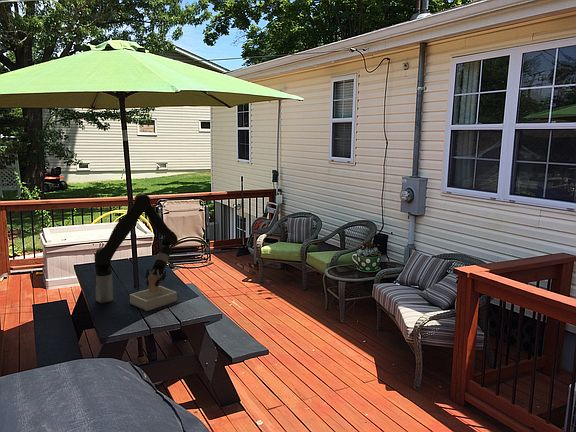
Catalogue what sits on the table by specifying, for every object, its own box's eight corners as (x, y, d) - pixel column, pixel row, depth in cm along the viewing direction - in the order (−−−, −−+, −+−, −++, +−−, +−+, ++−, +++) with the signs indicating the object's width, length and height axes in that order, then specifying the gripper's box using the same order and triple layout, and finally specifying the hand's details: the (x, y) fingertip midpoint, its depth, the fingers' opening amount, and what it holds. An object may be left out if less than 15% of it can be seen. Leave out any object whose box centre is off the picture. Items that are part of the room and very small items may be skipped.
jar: (152, 293, 282) (151, 277, 280) (147, 291, 285) (146, 275, 284) (160, 290, 286) (159, 275, 284) (154, 288, 290) (154, 273, 288)
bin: (146, 311, 273) (146, 301, 272) (130, 303, 284) (129, 294, 283) (177, 301, 290) (176, 292, 288) (160, 294, 301) (160, 285, 300)
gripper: (148, 257, 291) (138, 281, 282) (168, 259, 287) (159, 284, 278) (153, 263, 297) (144, 287, 288) (173, 265, 293) (164, 289, 284)
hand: (151, 285), depth 283 cm, fingers closed on jar, 5 cm apart
